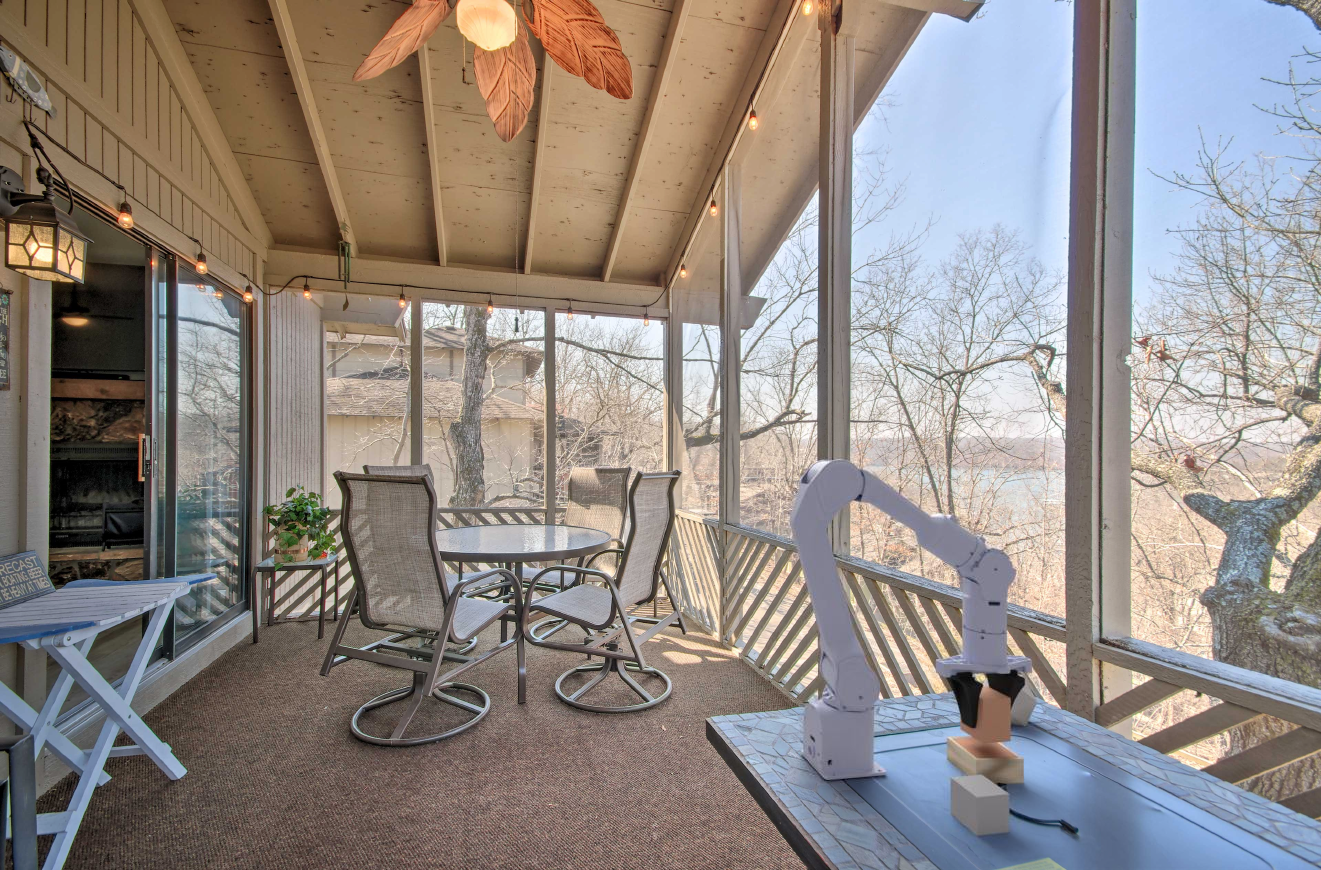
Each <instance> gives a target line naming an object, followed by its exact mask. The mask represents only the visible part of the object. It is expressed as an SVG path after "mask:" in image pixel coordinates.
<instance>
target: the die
mask: <svg viewBox="0 0 1321 870" xmlns="http://www.w3.org/2000/svg"><path fill="white" fill-rule="evenodd" d="M1018 675H1019V676H1021V677H1024V675H1023V674H1018ZM985 678H986V679H985V680H984V683H983V685H984V686H988V687H989V684H988V680H987V677H985ZM1037 703H1038V701H1037V698H1036V696H1035V694H1034V693H1033V691H1032V689H1031V687H1030V686H1029V684H1028V682H1027V680H1026V679H1025V686H1024V687H1023V688H1022V689H1021V691H1020V692H1019V694H1018V695H1017V697H1016V699H1015V701H1014V703H1013V706H1012V709H1011V725H1015V726H1021V727H1026V726H1027V725H1028V723H1029V720H1030V718H1031V717H1032V714H1033V712H1034V709H1035V707H1036V706H1037Z"/></svg>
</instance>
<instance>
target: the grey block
mask: <svg viewBox="0 0 1321 870" xmlns="http://www.w3.org/2000/svg"><path fill="white" fill-rule="evenodd" d="M950 813H951V814H950V815H951V816H953V817H954V816H955V817H956V818H955V817H954V818H955V819H956V820H957V819H958V820H957V821H959V823H961V824H962V825H963V826H964V825H965V828H967V829H968V830H969V831H971V833H972V834H974V835H975V836H977V837H978V836H986V835H995V834H1003V833H1010V793H1009V792H1007V791H1006V790H1005V789H1003V788H1001V787H1000V786H998V784H994V783H993V782H992V781H990V780H989V779H987V778H986V777H984V776H983V775H972V776H966V775H963V776H953V777H952V776H951V777H950Z"/></svg>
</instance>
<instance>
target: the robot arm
mask: <svg viewBox="0 0 1321 870" xmlns="http://www.w3.org/2000/svg"><path fill="white" fill-rule="evenodd" d="M798 481H799V482H798V490H797V493H796V496H795V500H794V503H793V507H792V509H791V513H790V516H789V526H790V529H791V532H792V536H793V540H794V544H795V548H796V551H797V554H798V558H799V562H800V565H801V566H800V567H801V569H802V573H803V577H804V581H805V584H806V587H807V592H808V595H809V599H810V603H811V606H812V609H813V614H814V618H815V620H816V625H817V629H818V633H819V643H818V644H819V648H820V652H821V653H820V654H821V655H820V661H819V670H820V671H819V672H820V674H821V677H822V678H823V679H824V681H825V682H826V685H825V687H824V688H823V692H822V693H821V695H822V696H821V698H820V699H818V700H817V701H813V702H809V703H807V704H806V705H805V707H804V710H803V739H802V740H803V742H802V749H801V750H800V754H801V755H802V756H803V757H804V758H805V759H806V760H807V761H808V763H809V764H810V765H811V766H812V767H813V769H815V770H816V772H817V773H819V775H820V776H821V777H822V778H823V780H824V779H825V780H827V781H832V780H842V779H843V780H844V779H854V778H865V777H867V778H868V777H875V776H877V777H879V776H886V775H887V770H886V769H885V768H884V767H883V766H882V765H880V763H878V762H877V761H876V760H875V759H874V758H875V755H874V754H875V752H874V751H875V750H874V749H875V747H874V746H875V740H874V739H875V728H874V727H875V703H876V702H877V701H878V698H879V697H880V695H881V694H880V693H881V683H880V680H879V677H878V675H877V674H876V672H875V671H874V670H873V669H872V668H871V667H870V666H869V664H868V662H867V658H866V654H865V652H864V649H863V648H862V646H861V644H860V642H859V640H858V638H857V636H856V631H855V629H854V626H853V625H854V624H853V621H852V618H851V615H850V610H849V607H848V603H847V600H846V596H845V592H844V588H843V586H842V581H841V578H840V573H839V571H838V567H837V563H836V560H835V555H834V552H833V548H832V544H831V541H830V538H829V534H828V527H829V526H830V524H831V522H832V521H833V519H835V517H836V515H837V514H838V513H839V511H840V510H843V509H844V508H845V507H846V506H848V505H849V504H851V503H852V502H857V503H858V502H859V503H865V504H870V505H872V506H873V507H875V508H876V509H878V510H880V511H881V512H882V513H885V514H886V515H888V516H889V517H890V518H892V519H894V520H895V521H898V522H899V523H900V524H902V525H903V526H905V527H907V528H908V529H910V530H911V531H912V532H914V534H915V538H916V542H917V544H918V546H919V547H922V548H923V549H924V550H925V551H927V552H929V553H930V554H931V555H933V556H935V557H936V558H937V559H939V560H941V561H942V562H944V563H945V564H946V565H948V566H950V567H951V568H952V569H954V570H955V571H956V573H957V575H958V576H959V577H960V578H962V596H961V597H962V600H961V601H962V602H961V603H962V607H961V608H962V613H961V614H962V620H961V621H962V622H961V624H962V627H961V632H962V636H961V637H962V639H961V641H962V642H961V654H957V655H953V656H949V657H945V658H937V659H935V673H936V674H938V675H939V676H942V677H943V678H945V679H946V681H947V682H948V684H949V686H950V688H951V690H952V692H953V694H954V698H955V700H956V703H957V704H956V705H957V706H958V711H959V715H961V720H962V723H963V724H965V725H967V726H968V727H970V728H976V724H977V714H978V702H979V697H980V693H981V690H982V688H983V686H984V683H981V682H980V681H977V680H976V678H975V676H973V675H978V674H979V675H982V674H983V675H984V674H985V675H986V678H987V680H988V684H989V687H990V688H992V689H994V690H996V691H998V692H999V693H1001V694H1003V695H1005V696H1007V697H1009V698H1011V709H1012V706H1013V703H1014V701H1015V699H1016V697H1017V695H1018V694H1019V692H1020V691H1021V689H1022V688H1023V687H1024V686H1025V680H1026V678H1025V676H1023V677H1021V676H1019V675H1020V674H1018V673H1019V672H1020V673H1021V672H1022V673H1025V674H1032V672H1033V660H1032V659H1031V658H1029V657H1026V656H1024V655H1009V654H1008V653H1007V652H1008V595H1009V593H1008V591H1009V588H1010V586H1011V584H1013V582H1014V580H1015V578H1016V575H1017V569H1016V568H1014V566H1013V565H1014V564H1013V562H1012V560H1010V559H1011V557H1010V555H1008V554H1007V553H1006V552H1005V551H1003V550H1001V549H999V548H995V547H992V546H988V545H987V544H986V538H985V537H983V536H982V535H980V534H976V535H975V534H973V533H972V532H970V531H969V530H968V529H966V528H965V527H963V526H962V525H960V524H958V523H959V521H960V520H959V519H958V518H957V517H956V516H954V515H953V514H946V515H945V514H944V513H933V514H928V513H927V512H925V511H924V510H923V509H921V508H920V507H919V506H917V505H916V504H915V503H913V502H912V501H910V499H907V498H906V497H905V496H904V495H902V494H901V493H899V491H896V490H895V489H894V488H893V487H891V486H890V485H889V484H887V483H886V482H884V481H883V480H881V479H880V478H879V477H877V476H876V475H874V474H873V473H871V472H869V471H868V470H865V469H863V468H861V467H860V468H858V466H857V465H855V463H853V462H851V461H849V460H848V459H841V458H838V459H833V460H829V459H820V460H818V461H815V462H813V463H812V464H811V465H810V466H808V469H807V470H806V471H804V473H803V474H802V476H800V478H799V480H798Z"/></svg>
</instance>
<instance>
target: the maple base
mask: <svg viewBox="0 0 1321 870" xmlns="http://www.w3.org/2000/svg"><path fill="white" fill-rule="evenodd" d="M946 760H947V761H949V762H950V763H951V764H952V765H953V766H954V767H956V768H957V769H958V770H959V771H960V772H961V773H963V774H964V776H972V775H983V776H984V777H986V778H987V779H989V780H990V781H992V782H993V783H994V784H996V785H998V784H997V783H999V782H1000V783H1003V784H1024V783H1025V776H1024V775H1025V774H1024V772H1025V769H1024V765H1025V764H1024V761H1025V759H1024V758H1023V757H1022V756H1020V755H1018V754H1017V753H1015V752H1014V750H1012V749H1010V748H1009V747H1007V746H1006V745H1005V744H1003V743H1002V742H997V743H984V744H983V743H981V742H980V741H978V740H976V739H975V738H973V737H972V736H970V735H969V736H967V735H966V736H946Z"/></svg>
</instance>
